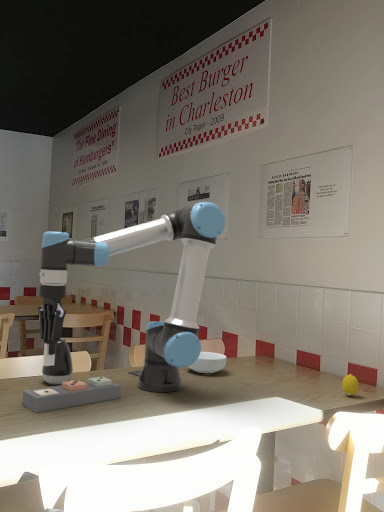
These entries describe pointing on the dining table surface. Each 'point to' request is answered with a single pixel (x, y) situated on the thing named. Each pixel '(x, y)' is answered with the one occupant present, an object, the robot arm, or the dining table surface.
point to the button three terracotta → (74, 385)
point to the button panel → (69, 397)
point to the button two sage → (99, 382)
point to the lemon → (350, 384)
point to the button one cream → (46, 392)
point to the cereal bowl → (209, 362)
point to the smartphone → (135, 373)
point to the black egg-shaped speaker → (59, 365)
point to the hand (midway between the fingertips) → (48, 365)
